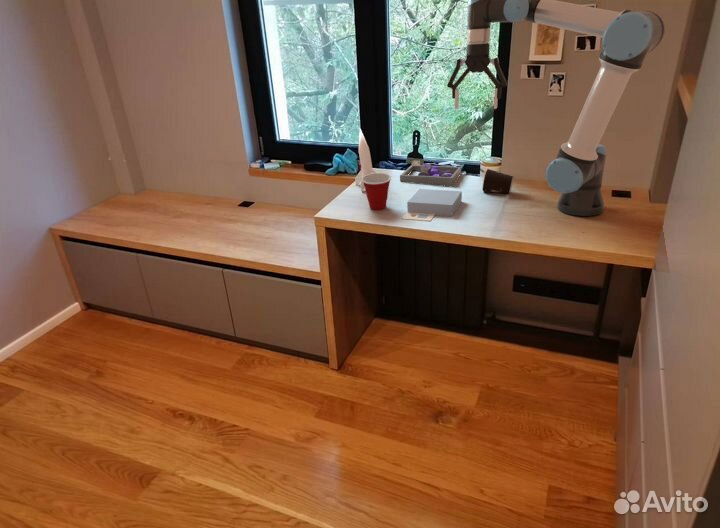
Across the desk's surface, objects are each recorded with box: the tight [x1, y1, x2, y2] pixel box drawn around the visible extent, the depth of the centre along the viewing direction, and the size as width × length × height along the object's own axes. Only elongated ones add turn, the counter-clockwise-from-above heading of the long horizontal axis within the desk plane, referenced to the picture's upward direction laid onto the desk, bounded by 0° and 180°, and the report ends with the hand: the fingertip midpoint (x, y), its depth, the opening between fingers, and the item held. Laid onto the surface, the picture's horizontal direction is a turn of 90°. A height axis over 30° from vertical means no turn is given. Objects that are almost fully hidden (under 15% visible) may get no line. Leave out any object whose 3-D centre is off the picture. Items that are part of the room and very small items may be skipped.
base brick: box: [406, 188, 463, 217], centre depth 189 cm, size 16×16×4 cm
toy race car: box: [417, 163, 453, 177], centre depth 220 cm, size 10×15×6 cm, turn 69°
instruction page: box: [401, 211, 436, 222], centre depth 182 cm, size 10×7×1 cm
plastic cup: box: [362, 172, 392, 211], centre depth 189 cm, size 11×11×12 cm
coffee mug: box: [482, 168, 514, 194], centre depth 202 cm, size 12×9×10 cm
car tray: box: [399, 164, 462, 187], centre depth 220 cm, size 22×17×4 cm
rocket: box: [354, 128, 377, 192], centre depth 207 cm, size 10×9×24 cm
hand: (475, 108), depth 184 cm, fingers open, 13 cm apart
